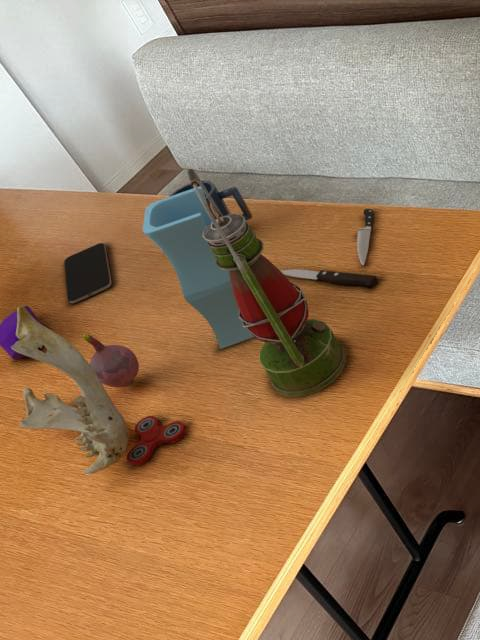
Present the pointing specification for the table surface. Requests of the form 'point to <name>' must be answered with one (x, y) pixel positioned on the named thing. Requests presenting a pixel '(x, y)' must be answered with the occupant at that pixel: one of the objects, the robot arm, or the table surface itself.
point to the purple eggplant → (12, 333)
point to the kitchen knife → (334, 277)
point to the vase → (196, 262)
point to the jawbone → (94, 407)
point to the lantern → (272, 307)
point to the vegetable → (113, 363)
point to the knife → (364, 236)
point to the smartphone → (87, 273)
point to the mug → (220, 198)
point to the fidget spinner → (153, 437)
